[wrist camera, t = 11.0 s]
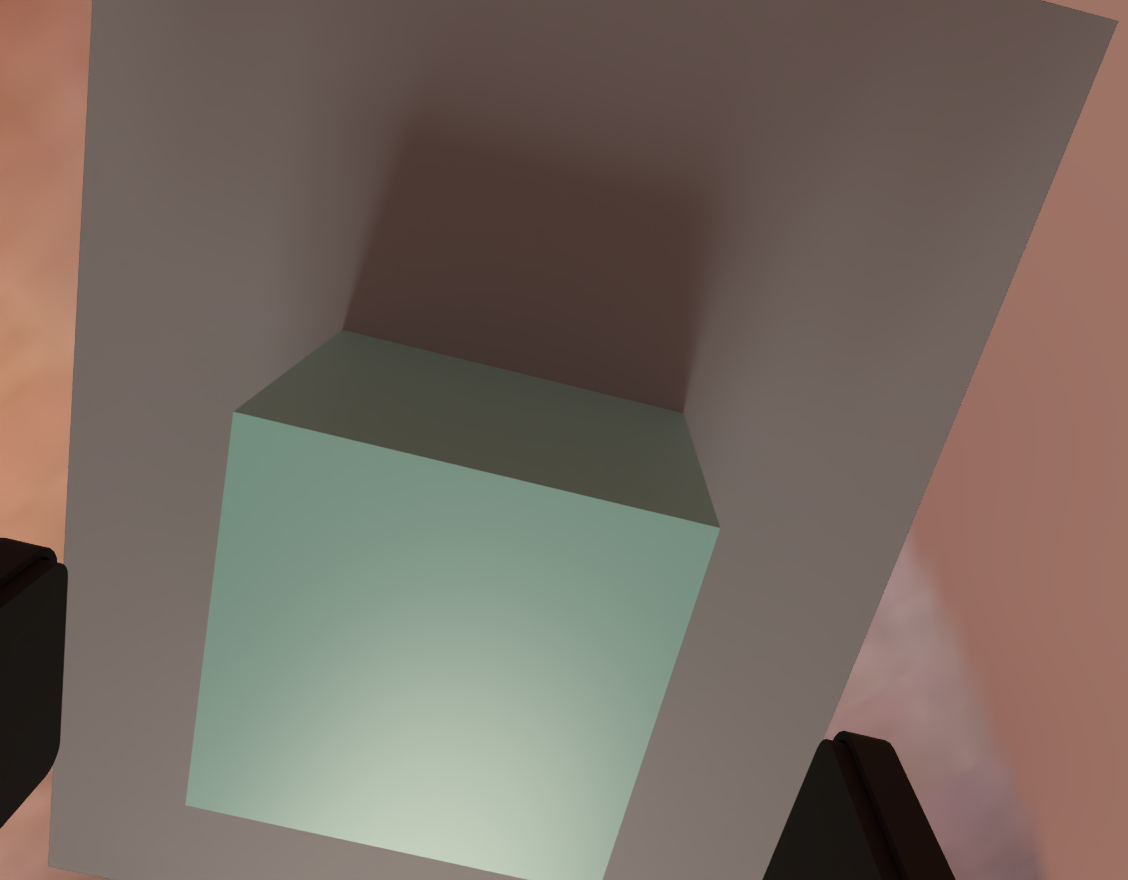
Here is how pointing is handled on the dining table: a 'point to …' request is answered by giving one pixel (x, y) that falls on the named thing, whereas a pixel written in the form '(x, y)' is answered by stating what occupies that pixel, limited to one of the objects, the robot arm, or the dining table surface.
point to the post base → (542, 333)
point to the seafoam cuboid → (445, 607)
